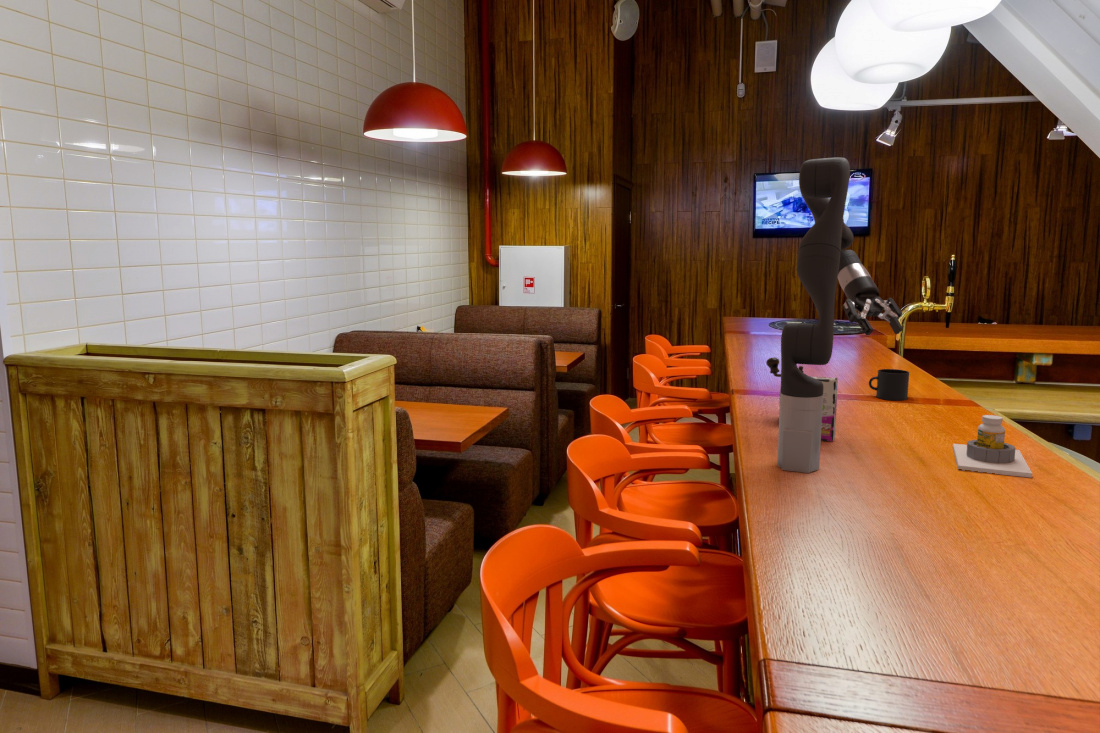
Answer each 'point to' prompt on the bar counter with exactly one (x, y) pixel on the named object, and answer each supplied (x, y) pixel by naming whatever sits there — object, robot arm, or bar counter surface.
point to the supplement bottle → (991, 432)
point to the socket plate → (991, 459)
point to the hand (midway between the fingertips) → (884, 332)
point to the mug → (891, 384)
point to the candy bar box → (828, 407)
